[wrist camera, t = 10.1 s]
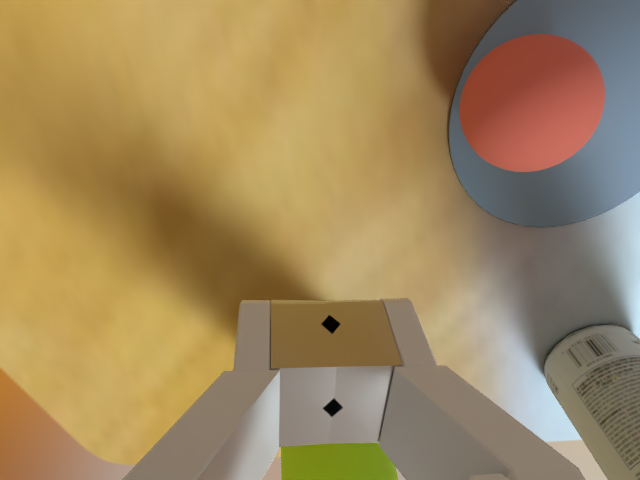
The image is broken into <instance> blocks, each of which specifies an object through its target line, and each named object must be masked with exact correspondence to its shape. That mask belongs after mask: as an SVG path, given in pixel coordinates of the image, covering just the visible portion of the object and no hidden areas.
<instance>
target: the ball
mask: <svg viewBox="0 0 640 480" xmlns="http://www.w3.org/2000/svg"><path fill="white" fill-rule="evenodd" d="M604 103H605V86H604V81H603V77H602V74H601V71H600V69H599V67H598V65H597V64H596V62H595V60H594V59H593V58H592V56H591V55H590V54H589V53H588V52H587V51H586V50H585V49H584V48H582V47H581V46H579V45H578V44H576V43H575V42H573V41H571V40H568V39H566V38H563V37H560V36H556V35H549V34H531V35H525V36H521V37H517V38H515V39H512V40H510V41H507V42H505V43H503V44H501V45H500V46H498V47H496V48H495V49H493V50H492V51H491V52H489V53H488V54H487V55H486V56H485V57H483V58H482V60H481V61H480V62H479V63H478V64H477V65H476V66H475V68H474V69H473V71H472V72H471V74H470V75H469V77H468V79H467V81H466V83H465V85H464V88H463V91H462V95H461V100H460V122H461V127H462V130H463V133H464V135H465V137H466V139H467V141H468V143H469V145H470V146H471V147H472V149H473V150H474V151H475V152H476V153H477V154H478V155H479V156H480V157H481V158H483V159H484V160H485V161H487V162H489V163H490V164H492V165H494V166H496V167H499V168H502V169H505V170H509V171H515V172H532V171H539V170H543V169H547V168H550V167H552V166H555V165H557V164H560V163H561V162H563V161H565V160H567V159H568V158H570V157H571V156H573V155H574V154H575V153H576V152H578V151H579V150H580V149H581V148H582V147H583V146H584V145H585V144H586V143H587V141H588V140H589V139H590V138H591V136H592V135H593V133H594V131H595V130H596V128H597V126H598V124H599V122H600V120H601V117H602V113H603V109H604Z"/></svg>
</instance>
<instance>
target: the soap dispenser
mask: <svg viewBox="0 0 640 480" xmlns="http://www.w3.org/2000/svg"><path fill="white" fill-rule="evenodd" d="M281 462H282V463H281V465H282V466H281V468H282V480H398V477H397V473H396V468H395V465H394V464H393V463H392V461H391V460H390V459H389V458H388V456H387V455H386V454H385V453H384V451H383V450H382V449H381V448H380V446H379V443H327V444H313V445H299V446H285V447H281Z"/></svg>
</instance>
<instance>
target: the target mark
mask: <svg viewBox="0 0 640 480" xmlns="http://www.w3.org/2000/svg"><path fill="white" fill-rule="evenodd" d="M531 34H549V35H556V36H560V37H563V38H566V39H568V40H571V41H573V42H575V43H576V44H578V45H579V46H581V47H582V48H584V49H585V50H586V51H587V52H588V53H589V54H590V55H591V56H592V58H593V59H594V60H595V62H596V64H597V65H598V67H599V69H600V71H601V74H602V77H603V81H604V86H605V103H604V109H603V113H602V117H601V120H600V122H599V124H598V126H597V128H596V130H595V131H594V133H593V135H592V136H591V138H590V139H589V140H588V141H587V143H586V144H585V145H584V146H583V147H582V148H581V149H580V150H579V151H578V152H576V153H575V154H574V155H573V156H571V157H570V158H568V159H567V160H565V161H563V162H561V163H560V164H557V165H555V166H552V167H550V168H547V169H543V170H539V171H532V172H515V171H509V170H505V169H502V168H499V167H496V166H494V165H492V164H490V163H489V162H487V161H485V160H484V159H483V158H481V157H480V156H479V155H478V154H477V153H476V152H475V151H474V150H473V149H472V147H471V146H470V145H469V143H468V141H467V139H466V137H465V135H464V133H463V130H462V127H461V122H460V100H461V95H462V91H463V88H464V85H465V83H466V81H467V79H468V77H469V75H470V74H471V72H472V71H473V69H474V68H475V66H476V65H477V64H478V63H479V62H480V61H481V60H482V58H483V57H485V56H486V55H487V54H488V53H489V52H491V51H492V50H493V49H495V48H496V47H498V46H500V45H501V44H503V43H505V42H507V41H510V40H512V39H515V38H517V37H521V36H525V35H531ZM449 148H450V155H451V159H452V163H453V166H454V170H455V172H456V174H457V176H458V179H459V181H460V183H461V184H462V186H463V187H464V189H465V190H466V192H467V193H468V195H469V196H470V197H471V198H472V199H473V200H474V201H475V202H476V203H477V204H478V205H479V206H480V207H481V208H483V209H484V210H485V211H487V212H488V213H490V214H492V215H493V216H495V217H497V218H499V219H501V220H504V221H507V222H510V223H513V224H517V225H522V226H529V227H555V226H561V225H567V224H572V223H576V222H579V221H583V220H586V219H589V218H592V217H594V216H597V215H600V214H602V213H604V212H606V211H608V210H610V209H612V208H614V207H616V206H618V205H619V204H621V203H623V202H624V201H626V200H628V199H629V198H631V197H632V196H634V195H635V194H637V193H638V192H639V191H640V0H516V1H515V2H514V3H513V4H512V5H511V6H510V7H509V8H508V9H507V10H506V11H505V12H503V13H502V14H501V15H500V17H499V18H498V19H497V20H496V21H495V22H494V24H493V25H492V26H491V27H490V28H489V30H488V31H487V32H486V33H485V35H484V36H483V38H482V39H481V41H480V42H479V44H478V45H477V46H476V48H475V49H474V51H473V53H472V55H471V57H470V58H469V60H468V62H467V64H466V66H465V68H464V70H463V72H462V75H461V77H460V80H459V82H458V85H457V87H456V91H455V94H454V98H453V102H452V106H451V112H450V119H449Z"/></svg>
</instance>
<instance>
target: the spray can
mask: <svg viewBox="0 0 640 480" xmlns="http://www.w3.org/2000/svg"><path fill="white" fill-rule="evenodd" d="M544 374H545V378H546V382H547V384H548V386H549V388H550V389H551V391H552V393H553V394H554V396H555V397H556V399H557V400H558V402H559V404H560V405H561V407H562V408H563V410H564V411H565V413H566V414H567V416H568V418H569V419H570V421H571V422H572V424H573V425H574V427H575V429H576V430H577V432H578V433H579V435H580V437H581V438H582V439H583V441H584V442H585V444H586V446H587V447H588V449H589V451H590V452H591V453H592V455H593V457H594V459H595V460H596V462H597V463H598V465H599V466H600V468H601V469H602V471H603V473H604V474H605V476H606V477H607V479H608V480H640V339H639V338H638V337H637V336H636V335H634V334H633V333H632V332H630V331H629V330H628V329H626V328H624V327H622V326H618V325H614V324H608V325H597V326H590V327H587V328H584V329H581V330H578V331H575V332H573V333H570V334H569V335H568V336H567V337H566V338H564V339H563V340H562V341H561V342H560V343H558V344H557V345H556V346H555V347H554V348H553V349H552V351H551V352H550V353H549V355H548V356H547V358H546V360H545V365H544Z"/></svg>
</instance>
